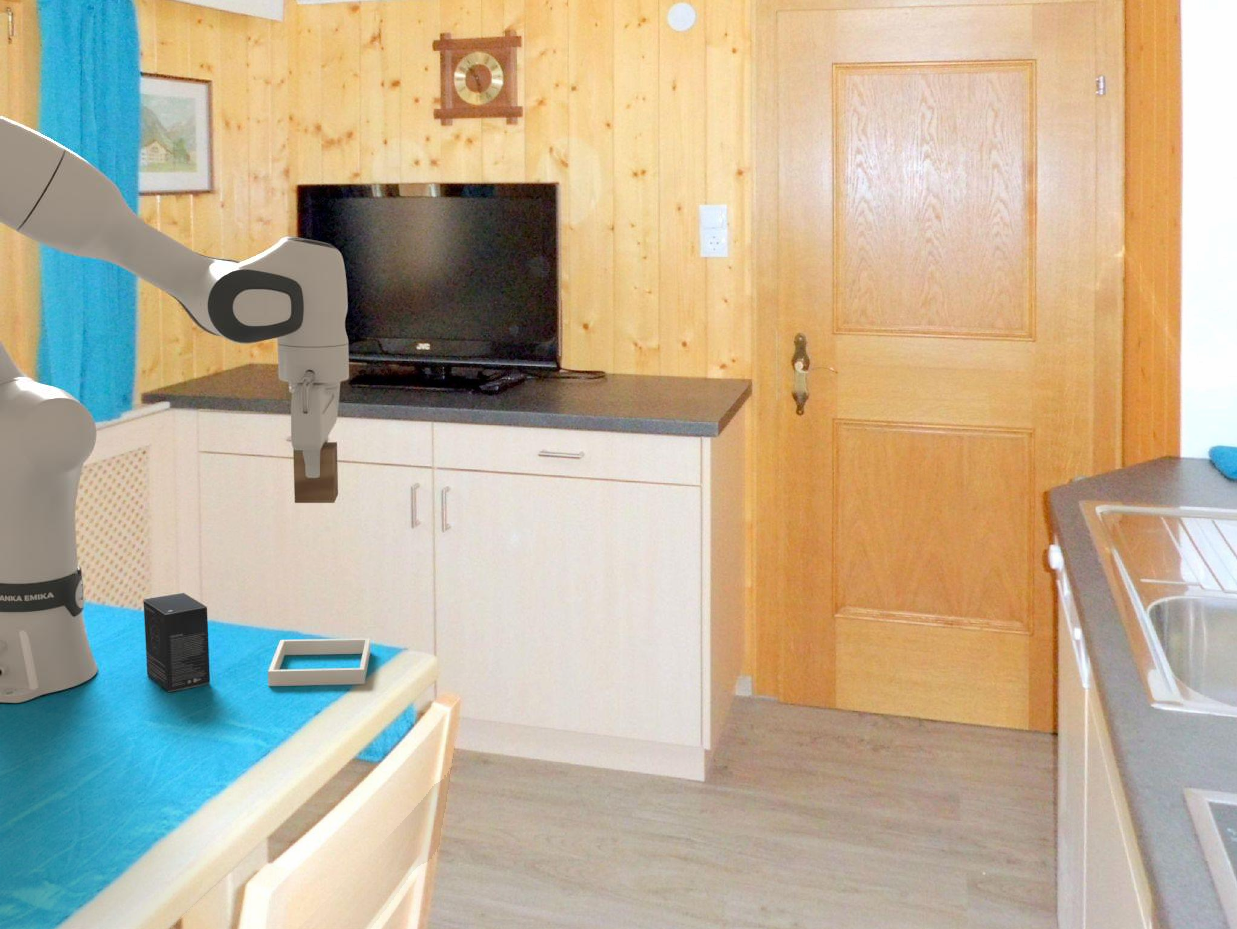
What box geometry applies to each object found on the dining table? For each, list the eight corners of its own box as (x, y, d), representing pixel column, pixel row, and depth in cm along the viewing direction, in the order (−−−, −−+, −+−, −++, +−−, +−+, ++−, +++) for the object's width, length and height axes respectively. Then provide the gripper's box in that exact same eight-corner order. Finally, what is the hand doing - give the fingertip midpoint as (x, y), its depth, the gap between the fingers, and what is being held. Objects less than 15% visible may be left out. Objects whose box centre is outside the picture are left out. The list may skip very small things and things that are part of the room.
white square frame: (268, 686, 173) (267, 671, 172) (280, 653, 184) (280, 639, 184) (364, 684, 174) (364, 669, 174) (370, 652, 186) (370, 638, 185)
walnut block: (334, 502, 172) (333, 449, 171) (294, 502, 172) (293, 449, 170) (338, 494, 177) (337, 442, 176) (299, 494, 177) (298, 442, 175)
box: (211, 684, 173) (208, 606, 171) (168, 693, 170) (164, 614, 167) (188, 666, 179) (184, 591, 177) (145, 675, 175) (141, 598, 173)
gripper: (330, 377, 161) (332, 489, 164) (346, 356, 181) (348, 455, 184) (276, 377, 160) (280, 489, 163) (298, 355, 180) (301, 455, 183)
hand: (316, 471), depth 174 cm, fingers closed on walnut block, 5 cm apart
